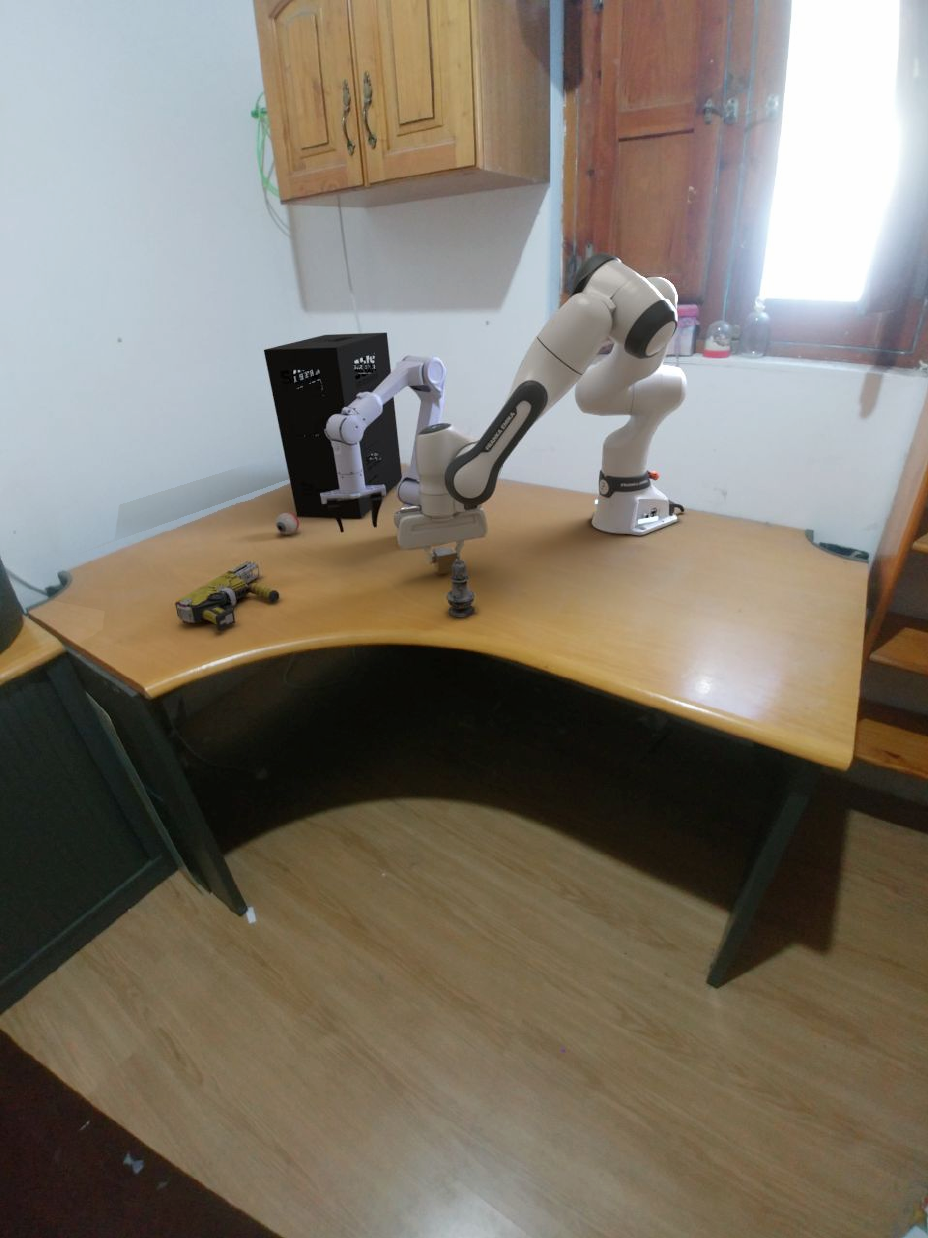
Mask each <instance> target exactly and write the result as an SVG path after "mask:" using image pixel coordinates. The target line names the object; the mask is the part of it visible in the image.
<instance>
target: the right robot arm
mask: <svg viewBox="0 0 928 1238" xmlns="http://www.w3.org/2000/svg"><path fill="white" fill-rule="evenodd" d="M678 319H679V318H678V293H677V290H676V288H675V286H674V284H673V283H671V282H670V281H669V280H668V279H666V278H664V277H660V276H650V277H644V276H641V275H640V274H639V273H638V272H636V271H635V270H634V269H632V268H631V267H630V266H628V265H626V264H624V263H622V260H621V259H620V258H618V257H616V256H614V255H612V254H610V253H607V252H599V253H597V254H594V255H592V256H590V257H589V258H587V259H586V260H585V261H584V262H583V263H582V264H581V265H580V266H579V268H578V269H577V271H576V273H575V274H574V277H573V279H572V282H571V286H570V292H569V298H568V299H567V300H566V302H564V303H563V304H562V305H561V306H560V307H559V308H558V310H556V311H555V313H554V314H553V315H552V316H551V317H550V319H549V320H548V321H547V322H546V324H544V325H543V326H542V328H541V330H540V331H539V333H538V334H537V335H536V336H535V338H534V339H533V341H532V342H531V343H530V345H529V347H528V349H527V351H526V352H525V354H524V356H523V358H522V360H521V362H520V365H519V366H518V368H517V370H516V374H515V376H514V379H513V381H512V384H511V387H510V390H509V392H508V395H507V397H506V399H505V401H504V403H503V405H502V406H501V408H500V410H499V411H498V414H497V415H496V416H495V417H494V419H493V420H492V421H491V423H490V424H489V426H488V427H487V429H486V430H485V432H484V433H483V434H482V435H481V437H476V436H474V435H470V434H468V433H465V432H463V431H462V430H459V429H457V427H455V426H454V425H453V424H452V423H447V422H441V423H440V424H435V425H431V426H429V427H426V428H425V429H423V430H422V431H421V432H420V433H419V434H418V436H417V438H416V468H417V473H418V475H419V480H418V482H419V500H420V505H415V506H410V507H403V506H402V507H400V508H399V509H398V510H396V511H395V512H394V514H393V523H394V525H395V527H396V540H397V545H398V546H399V548H400V549H401V550H403V551H408V550H413V549H415V550H416V549H420V548H422V549H423V551H424V552H425V554H426V555H427V557H428V558H427V559H428V562H429V563H430V565H431V564H434V563H436V555H435V554H434V553H433V552H432V553H431V552H430V551H431V550H432V549H431V547H433V546H438V545H444V544H445V545H446V544H452V543H456V546H455V548H454V549H452V550H453V551H454V553H455V559H456V560H457V557H459V558H460V559H461V551H462V549H463V548H464V546H465V541H469V540H476V539H481V538H485V537H486V536H487V534H488V533H489V529H488V520H487V515H486V512H485V511H484V510H483V509H482V507H483V504H484V503H486V502H488V501H489V499H491V498H492V496H493V495H494V492H495V490H496V487H497V483H498V480H499V478H500V475H501V473H502V471H503V467H504V464H505V463H506V461H507V460H508V458H509V457H510V456H511V455H512V453H513V452H514V450H515V449H516V448H517V446H518V445H519V444H520V442H521V441H522V440H523V438H524V437H525V436H526V435H527V433H528V432H529V430H530V429H531V428H532V427H533V426H534V425H535V424H536V423H537V422H538V421H539V420H540V419H541V418H542V417H543V416H544V415H545V414H546V413H548V412H549V410H551V409H552V408H553V407H554V406H555V405H556V404H557V403H558V402H560V400H562V398H564V397H565V395H567V394H568V393H569V392H570V390H572V389H573V388H574V400H575V402H576V405H577V407H578V408H579V410H580V411H581V412H582V413H583V414H587V415H593V416H599V417H610V416H611V417H612V416H616V417H617V416H629V419H628V421H627V422H626V424H624V425H623V426H622V427H620V428H618V429H615V430H613V431H612V432H611V433H609V434H608V435H607V436H606V437H605V439H604V441H603V443H602V453H601V468H600V470H599V474H598V492H599V493H598V498H597V499H595V500H594V504H595V505H596V507H595V511H594V514H593V517H592V520H591V525H592V526H593V527H594V528H595V529H597V530H599V531H601V532H605V533H611V534H623V535H625V534H626V535H632V536H633V535H634V536H645V535H646V534H650V533H652V532H654V531H657V530H660V529H662V528H665V527H668V526H670V525H672V524H675V523H677V522H678V516H677V515H676V514H675V508H678V509H679V510H680V513H684V512H685V508H684V506H683V505H682V504H680V503H675V502H674V501H672V500H670V499H669V498H668V497H667V496H666V495H665V494H664V493H663V492H661V491H660V490H659V489H658V488H656V487H655V486H654V485H652V483H651V480H653V481H658V479H659V478H660V473H659V472H657V471H654V470H651V471H649V470H648V469H647V466H648V460H649V452H650V448H651V443H652V440H653V437H654V435H655V433H656V432H657V430H658V428H659V427H660V425H661V424H662V423H663V421H665V420H666V419H667V417H668V416H670V415H671V414H672V413H674V412H675V411H676V410H678V409H679V408H680V407H681V406H682V404H683V402H684V401H685V399H686V396H687V393H688V380H687V378H686V377H687V376H686V375H685V373H684V371H683V370H682V369H681V368H680V367H678V366H672V365H665V364H663V363H664V361H665V360H666V356H667V353H668V349H669V346H670V343H671V340H672V338H673V336H674V335H675V333H676V331H677V328H678ZM608 338H609V339H610V340H611V341H612V342H614V343H613V346H612V350H611V351H610V353H609V354H608V355H607V356H606V357H605V358H604V359H603V360H602V361H601V362H600V363H598V364H597V365H595V366H593V367H591V368H589V367H590V366H591V364H592V363H593V361H594V360H595V359H596V357H597V355H598V354H599V352H600V351H601V349H602V348H603V346H604V344H605V342H606V340H607V339H608ZM574 386H575V387H574Z"/></svg>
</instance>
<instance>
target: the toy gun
mask: <svg viewBox="0 0 928 1238" xmlns="http://www.w3.org/2000/svg"><path fill="white" fill-rule="evenodd" d="M251 562H252V561H251V560H247V561H245V562H244V563H242V564H240V565H239V566H237V567H235V568H234V569H232V570H228V571H226V572H225V573H223V574H221V575H220V576H218V577H216V578H214V579H212V580H211V581H209V582H207V583H205V584H203V585H202V586H201V587H199V588H197V589H195V590H193V591H192V592H189V594H187V595H185V596H183V597H181V598H180V599H178V600H176V601H175V603H174V606H175V610H176V615H177V617H178V618H179V620H181V622H182V623H183V624H185V623H186V624H187V625H189V624H192V623H193V624H198V623H199V624H200V623H204V622H207V621H209V622H212V623H213V624H215V625H216V628H217V631H222V630H224V629H226V628H228V627H230V626H231V625H233V624H235V623H236V619H235V611H234V609H233V607H234V606H236V605H237V600H239V599H241V598H242V597H245V596H247V595H249V594H252V595H255V596H258V597H259V598H263V599H265V600H268V601H270V602H272V603H275V602H277V601H278V600H279V599H280V593H279V591H278V590H276V589H271V588H269V587H268V588H267V587H266V586H263V585H262V584H261V585H260V584H258V583H256V582H254V583H252V584H251V585H248V584H249V583H250V582H253V581H254V580H255V579H257V578H259V577H260V567H259V564H258V563H257V562H256V561H253V562H252V563H251ZM256 569H257V573H254V571H255V570H256Z"/></svg>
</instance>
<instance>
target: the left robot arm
mask: <svg viewBox="0 0 928 1238" xmlns="http://www.w3.org/2000/svg"><path fill="white" fill-rule="evenodd" d="M447 375H448V371H447V368H446V367H445V365H444V363H443V361H442V360H441V359H440V358H439V357H437V356H416V355H410V354H408V355H405V356H404V357H403V358H402V359H401V360H399V361H398V362H396V364H395V367H394V369H393V370H391V373H390V374H389V375H388V376H387V377H386V378H385V379H384V381H383V382H382V383H381V384H380V385H379V386H378V387H377V388H376V389H375V390H374V391H373V392H372V393H370V392H364V393H359V394H357V395H356V396H357V399H356V400H354V401H353V402H352V403H351V404H350V405H349V406H348V407H344V408H343V409H342V412H341V414H334V415H332V416H331V417H330V418H329V420H328V422H327V425H326V429H325V430H324V431H325V434H326V436H327V437H328V438H329V439H330V441H331V443H332V447H333V450H334V456H335V462H336V469H337V474H338V481H339V487H340V489H338V490H334V491H330V492H325V493H320V495H321V501H322V504H326V503H327V505H328V508H329V509H330V511H331V512H332V514H333V515H334V517H333V518H334V519H335V520H336V522H337V524H338V527H339V531H340V533H345V529H344V528H345V527H344V525H343V522H342V518H341V514H340V507H339V503H338V501H341V500H348V499H355V498H362V497H369V499H370V505H371V509H370V511H371V512H370V513H371V522H372V526H373V528H378V518H379V512H380V509H381V506H382V504H383V498H382V496H383V495H385V496H387V494H386V489H385V486H384V485H371V486H365V481H364V474H363V467H362V459H361V452H360V445H359V441H361V439H362V437H363V433H364V430H365V429H366V427H367V426H368V425H369V424H371V423H372V422H373V421H374V420H375V419H376V418H377V417H378V416H379V415H380V414H381V413H382V405H383V404H385V403H386V402H387V401H388V400H390V399H391V398H392V397H393V396H394V397H395V396H396V395H397V394H398V393H400V392H401V391H402V390H404V389H405V388H406V387H408V388H409V389H411V390H412V392H414V393H415V394H416V395H417V397H418V399H419V400H420V405H419V412H418V417H417V423H416V429H415V435H414V440H413V441H414V442H413V447H412V448H413V449H412V453H411V458H410V465H409V467H408V468H407V469H406V470H404V471H403V472H402V478H401V480H400V481H399V482H398V485H397V487H396V497H397V499H398V501H399V502H400V503H402V507H410V506H415V505H420V500H419V482H420V480H419V475H418V473H417V468H416V438H417V436H418V434H419V433H420V432H421V431H422V430H423V429H425V428H426V427H429V426H431V425H435V424H440V423H442V417H443V410H444V405H445V398H446V393H445V392H446V391H445V386H446V380H447ZM381 495H382V496H381Z"/></svg>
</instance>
